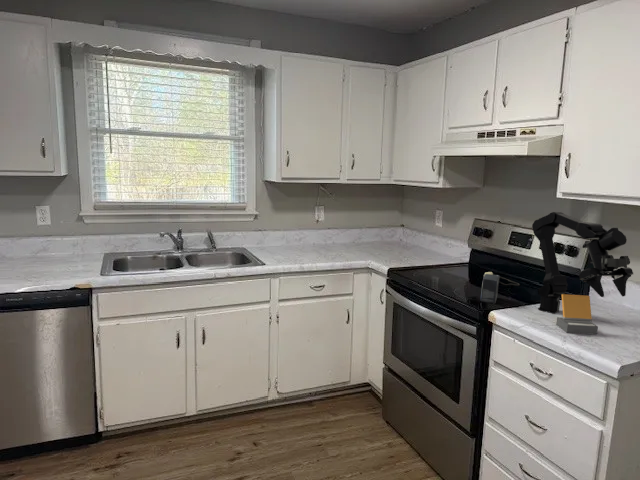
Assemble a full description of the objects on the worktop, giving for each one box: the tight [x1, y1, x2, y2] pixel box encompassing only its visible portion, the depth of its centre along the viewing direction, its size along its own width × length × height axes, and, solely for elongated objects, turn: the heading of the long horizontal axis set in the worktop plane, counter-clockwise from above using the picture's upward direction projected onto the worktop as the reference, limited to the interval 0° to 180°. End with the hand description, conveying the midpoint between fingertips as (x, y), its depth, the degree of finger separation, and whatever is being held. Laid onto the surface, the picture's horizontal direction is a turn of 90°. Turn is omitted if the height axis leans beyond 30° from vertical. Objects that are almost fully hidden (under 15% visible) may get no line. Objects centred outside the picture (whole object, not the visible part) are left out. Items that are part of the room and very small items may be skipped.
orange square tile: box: [561, 293, 593, 323], centre depth 172 cm, size 1×10×10 cm, turn 89°
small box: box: [480, 273, 500, 305], centre depth 204 cm, size 11×6×10 cm, turn 155°
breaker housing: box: [555, 317, 599, 335], centre depth 171 cm, size 8×11×3 cm
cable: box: [483, 271, 521, 287], centre depth 238 cm, size 16×16×4 cm
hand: (613, 296), depth 163 cm, fingers open, 9 cm apart
